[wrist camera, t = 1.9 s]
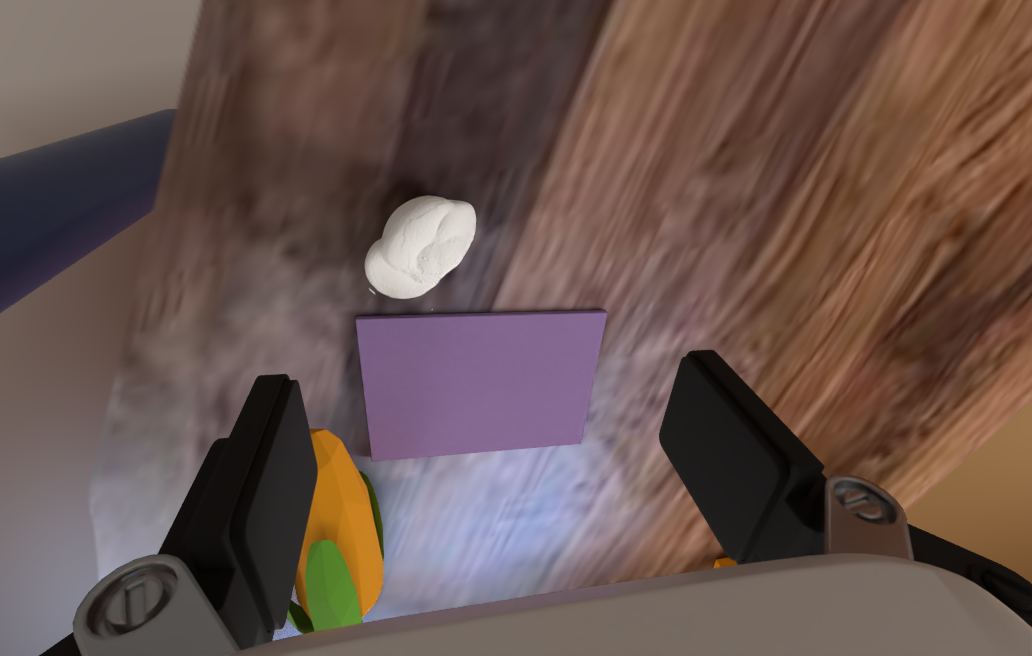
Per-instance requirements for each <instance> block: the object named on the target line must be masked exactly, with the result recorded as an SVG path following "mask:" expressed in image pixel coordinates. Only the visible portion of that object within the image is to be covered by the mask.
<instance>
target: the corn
mask: <svg viewBox="0 0 1032 656" xmlns="http://www.w3.org/2000/svg"><path fill="white" fill-rule="evenodd" d="M309 430H310V434H311V439H312V443H313V447H314V452H315V456H316V460H317V466H318V476H317V482H316V487H315V492H314V496H313V501H312V505H311V510H310V514H309V519H308V523H307V528H306V532H305V537H304V541H303V546H302V550H301V555H300V560H299V564H298V569H297V573H296V578H295V582H294V584H295V589H296V594H297V600H298V602H299V603H300V605H301V606H302V607H301V606H299V605H297V604H296V603H294V602H293V601H292V600H290V605H289V609H288V614H287V619H288V620H289V621H290V622H291V623H292V624H293V625H294V627H295V628H296V629H297V630H298V631H299V632H301V633H303V634H306V633H311V632H315V631H321V630H326V629H332V628H338V627H344V626H349V625H355V624H361V623H363V622H362V618H363V617H364V616H365V615H366V613H367V612H368V611H369V610H370V609H371V608H372V606H373V605H374V604H375V603H376V602H377V599H378V597H379V594H380V592H381V589H382V587H383V559H384V550H383V529H382V521H381V517H380V512H379V507H378V503H377V499H376V496H375V493H374V490H373V487H372V485H371V483H370V481H369V479H368V477H367V476H366V475H365V474H364V473H362V472H360V471H358V470H357V468H356V466H355V464H354V463H353V461H352V459H351V457H350V455H349V454H348V452H347V450H346V448H345V446H344V444H343V443H342V441H341V440H340V439H339V438H338V437H336V436H335V435H333V434H332V433H331V432H329V431H328V430H326V429H309Z"/></svg>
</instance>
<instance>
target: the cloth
mask: <svg viewBox="0 0 1032 656" xmlns="http://www.w3.org/2000/svg"><path fill="white" fill-rule="evenodd" d="M606 317H607V311H606V310H582V311H544V312H505V313H467V314H429V315H390V316H356V319H355V320H356V329H357V337H358V346H359V355H360V363H361V372H362V381H363V389H364V398H365V407H366V415H367V424H368V433H369V441H370V450H371V459H372V461H384V460H396V459H407V458H419V457H431V456H443V455H454V454H466V453H478V452H489V451H501V450H513V449H525V448H536V447H548V446H560V445H571V444H581V440H582V435H583V431H584V426H585V421H586V416H587V411H588V406H589V401H590V396H591V391H592V386H593V381H594V376H595V371H596V366H597V361H598V356H599V351H600V346H601V342H602V337H603V332H604V327H605V322H606Z"/></svg>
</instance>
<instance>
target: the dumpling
mask: <svg viewBox="0 0 1032 656" xmlns="http://www.w3.org/2000/svg"><path fill="white" fill-rule="evenodd" d="M475 227H476V215H475V211H474V208H473V207H472V205H471V204H469V203H468V202H464V201H459V200H447V199H445V198H442V197H438V196H429V195H427V196H421V197H417V198H414V199H412V200H409V201H408V202H405V203H404V204H403V205H401V206H400V207H398V208H397V209H396V210H395V211H394V213H392V215H391V216H390V218H389V219H388V221H387V223H386V226H385V228H384V232H383V236H382V238H381V239H379V240H377V241H376V242H375V243H374V244H373V245H372V246H371V248H370V249H369V251H368V253H367V256H366V259H365V271H366V276H367V278H368V280H369V281H370V283H371V284H372V285H373V286H374V287H375V288H376V289H377V290H378V291H379V292H381V293H382V294H385V295H388V296H390V297H392V298H400V299H407V298H413V297H417V296H421V295H423V294H424V293H426V292H427V291H428V290H430V289H431V288H433V287H434V286H435V285H436V284H438V282H439V280H440V279H441V278H443V276H444V275H446V273H448V272H449V271H450V270H452V269H453V268H455V267H456V266H457V265H458V264H459V263H460V262H461V260H462V258H463V257H464V255H465V254H466V252H467V250H468V249H469V246H470V245H471V242H472V241H473V238H474V237H473V236H474V235H475ZM369 290H370V291H371V292H373V291H372V290H371V289H370V288H369ZM373 293H374V292H373ZM374 294H375V293H374ZM431 310H432V309H431Z"/></svg>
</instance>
